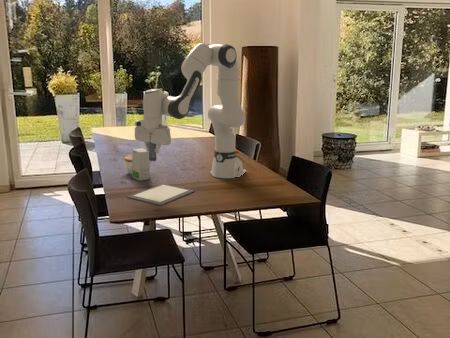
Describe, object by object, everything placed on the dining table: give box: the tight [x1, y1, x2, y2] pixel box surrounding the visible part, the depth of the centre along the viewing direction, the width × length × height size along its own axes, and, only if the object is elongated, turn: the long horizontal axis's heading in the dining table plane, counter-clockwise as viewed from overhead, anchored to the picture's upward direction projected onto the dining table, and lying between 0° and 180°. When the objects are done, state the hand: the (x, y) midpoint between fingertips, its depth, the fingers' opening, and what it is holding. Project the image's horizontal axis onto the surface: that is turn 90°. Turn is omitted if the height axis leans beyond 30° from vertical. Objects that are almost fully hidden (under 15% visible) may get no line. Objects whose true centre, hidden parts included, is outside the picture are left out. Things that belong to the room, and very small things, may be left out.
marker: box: [149, 133, 157, 162], centre depth 225 cm, size 4×4×14 cm
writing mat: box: [127, 183, 195, 207], centre depth 225 cm, size 26×20×1 cm
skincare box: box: [131, 147, 151, 181], centre depth 250 cm, size 8×7×16 cm
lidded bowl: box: [123, 154, 132, 175], centre depth 260 cm, size 13×13×11 cm
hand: (152, 151), depth 226 cm, fingers closed on marker, 4 cm apart
